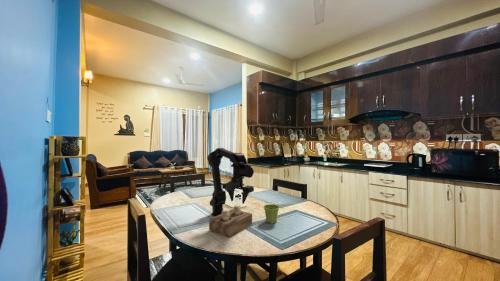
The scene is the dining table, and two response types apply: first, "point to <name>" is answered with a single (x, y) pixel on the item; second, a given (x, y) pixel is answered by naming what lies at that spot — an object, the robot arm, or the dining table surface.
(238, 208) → the peg far
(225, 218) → the peg near
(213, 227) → the jig block
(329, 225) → the dining table surface
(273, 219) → the plant pot
